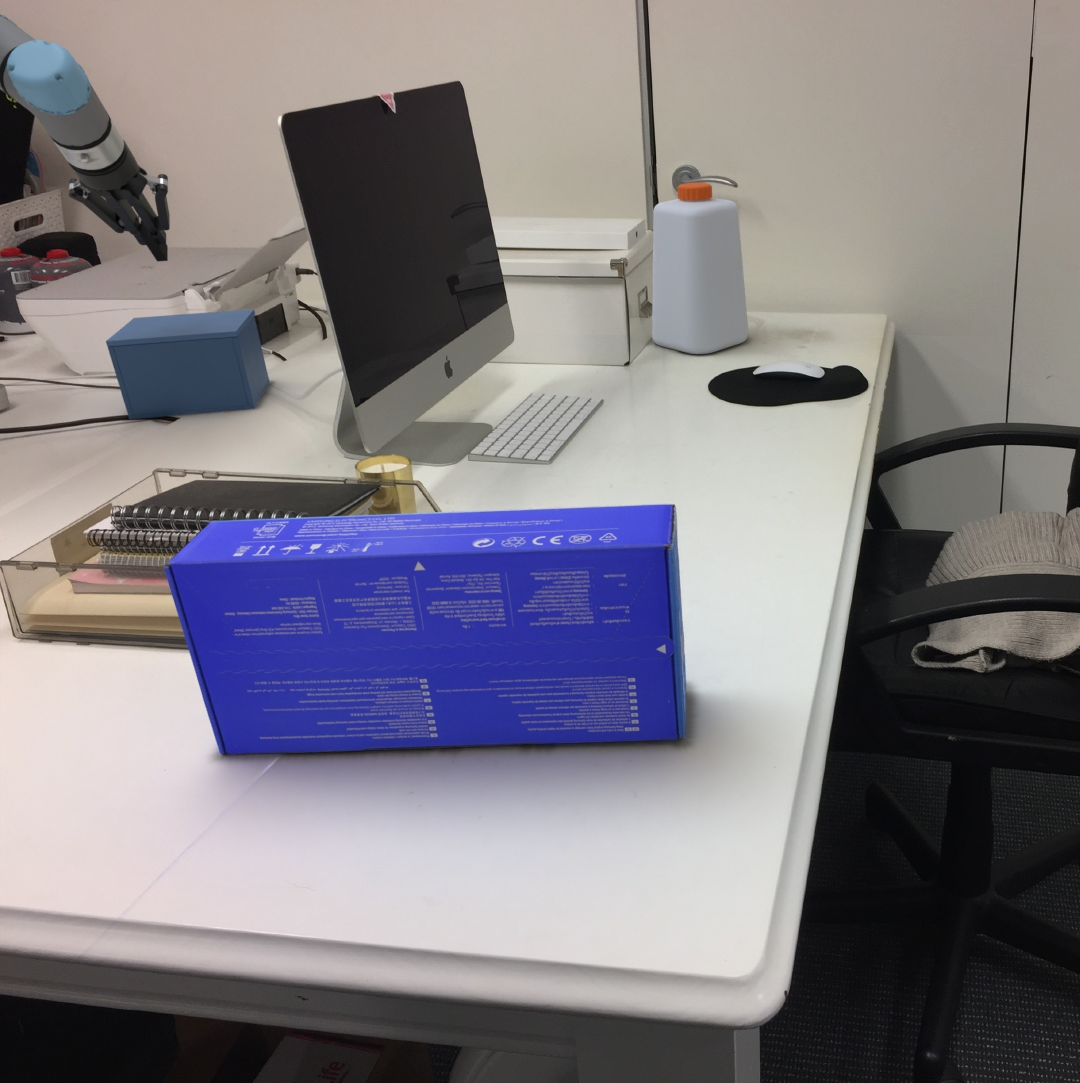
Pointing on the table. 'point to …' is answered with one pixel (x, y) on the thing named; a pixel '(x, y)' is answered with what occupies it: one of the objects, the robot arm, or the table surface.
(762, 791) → the table surface
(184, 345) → the case
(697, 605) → the table surface
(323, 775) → the table surface
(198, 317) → the case lid
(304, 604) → the blue cardboard box
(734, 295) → the plastic bottle
